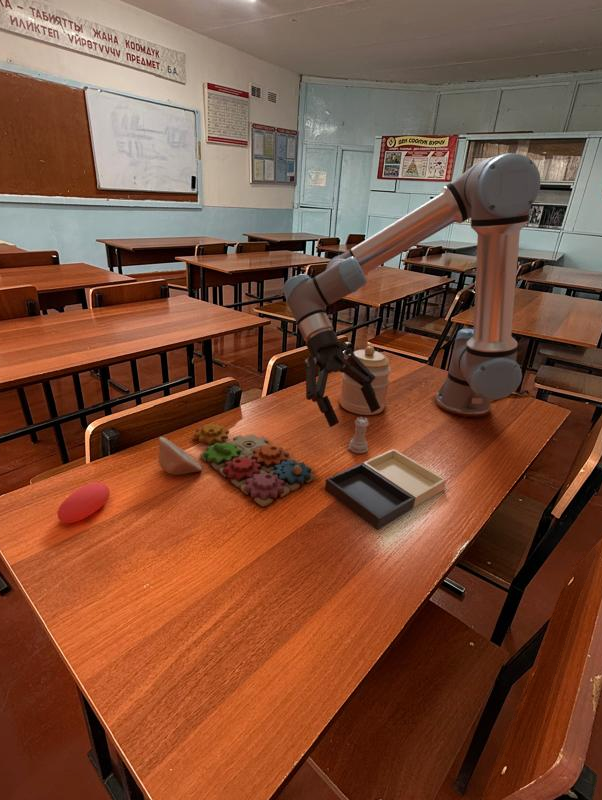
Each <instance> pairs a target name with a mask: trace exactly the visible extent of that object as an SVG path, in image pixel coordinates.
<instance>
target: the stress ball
mask: <svg viewBox="0 0 602 800" xmlns="http://www.w3.org/2000/svg"><path fill="white" fill-rule="evenodd" d="M110 495H111V494H110V488H109V487H108V485H106V484H105V483H104V482H101V481H92V482H89V483H87V484H86V483H85V485H83V486H81V487H79V488H78V489H75V491H73V492H72V493H70V494H69V495H68V496H67V497H66V498H65V499H64V500H63V501H62V503H61V504H60V506H59V507H58V509H57V513H56V514H57V518H58V520H59V521H60V522H61V523H63V524H73V523H76V522H79V521H82V520H84V519H86V518H88V517H89V516H91V515H92V514H94V513H95V512H96V511H97V510H99V509H101V508H102V507H103V506H104V505H105V504H106V503H107V501H108V500H109V497H110Z"/></svg>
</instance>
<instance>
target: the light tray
mask: <svg viewBox="0 0 602 800" xmlns="http://www.w3.org/2000/svg"><path fill="white" fill-rule="evenodd" d="M362 464H364V465H365V466H367V467H368V468H370V469H371V470H373V471H374V472H376V473H377V474H379V475H380V476H382V477H383V478H385V479H386V480H388V481H390V482H391V483H393V484H394V485H396V486H397V487H399V488H400V489H402V490H403V491H405V492H406V493H408V494H409V495H411V496H412V497H414V498H415V500H414V504H413V508H412V509H414V508H416V507H417V506H419V505H421V504H422V503H424V502H426V501H427V500H429V499H431V498H433V497H434V496H436V495H438V494H439V493H441V492H443V491H444V490H445V488H446V483H447V479H446V478H444V477H443V476H441V475H439V474H438V473H436V472H434V471H432V470H431V469H429V468H428V467H425V466H424V465H422V464H421V463H419V462H417V461H415V460H413V458H410V457H409V456H407V455H405V454H403V453H402V452H400V451H398V450H397V449H395V448H392V449H390V450H388V451H385V452H383V453H380V454H378V455H377V456H374V457H372V458H370V459H368V460H365V461H362Z"/></svg>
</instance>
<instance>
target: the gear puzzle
mask: <svg viewBox="0 0 602 800" xmlns="http://www.w3.org/2000/svg"><path fill="white" fill-rule="evenodd" d="M229 434H230V430H229V429H227V428H225V426H224V425H220V424H216V423H211V424H210V423H207V424H203V425H202V427H197V428H195V433H194V434H193V437H194V438H196V439H198V442H199V443H204V442H206V444H207V445H210V446H206V448H205V451H203V452H201V453H200V459H202V461H203V462H206V463H211V464H210V466H211V468H213V469H214V470H216V471H217V472H219V474H220V475H221V476H223V477H224V478H227V479H231V484H233V485H234V486H235V487H236V488H238V489H240V491H241V492H242V493H243V494H245V495H246V496H249V495H250V497H251V498H253V500H254V502H255V503H256V504H257V505H259V506H260V507H262V508H263V507H266V506H268V505H270V504H272V503H273V502H274V499H273V498H275V499H276V498H277V497H278V496H279V497H280V498H283V497H285V496H287V495H289V494H290V492H294V491H296V490H298V489H300V486H301V484H302V485H303V484H305V483H307V484H309V483H311V482H312V481H314V480H315V479H316V475H315V474H314V473H312V470H313V468H312V467H310V466H309V465H307V464H306V463H305V462H303V461H302V462H297V461H296V460H295V459H291V458H290V453H289V452H288V451H286V450H284V448H283V447H280V446H275V445H274V444H268V443H269V440H268V439H267V438H266V437H264V436H260V438H259V437H258V436H256V435H254V434H251V433H250V434H248V435H246V436H242V435H241V434H240V435H239V434H238V435H236V436H234V437H232V441H229V442H228V441H225V442H223V443H222V441H223V440H228V439H229V436H228V435H229ZM213 443H214V444H213ZM211 444H212V445H211ZM304 482H305V483H304Z"/></svg>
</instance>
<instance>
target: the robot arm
mask: <svg viewBox="0 0 602 800" xmlns="http://www.w3.org/2000/svg"><path fill="white" fill-rule="evenodd" d="M540 174H541V173H540V170H539V168H538V166H537V164H536V163H535V162H534V161H533V160H532V159H531V158H530V157H528V156H526V155H524V154H521V153H515V152H509V153H508V152H505V153H502V154H498V155H495V156H492V157H488V158H484V159H482V160H480V161H478V162H476V163H475V164H474V165H472V166H471V167H470V168H468V169H467V170H466V171H464V172H463V173H461V174H460V175H459V176H458V177H456V178H455V179H453V180H452V181H451V182H449V183H447V184H446V185H444V186H443V187H442V189H441V191H440V193H439V194H438V195H436V196H434V197H432V198H431V199H430V200H428V201H426V202H425V203H423V204H421V205H420V206H418V207H417V208H415V209H413V210H411V211H410V212H408V213H407V214H405V215H403V216H402V217H400V218H399V219H397V220H395V221H394V222H392V223H390V224H388V225H387V226H385V227H384V228H382V229H381V230H379V231H377V232H376V233H374V234H372V235H371V236H369V237H367V238H365V239H364V240H362V241H361V242H359V243H358V244H356V245H354V246H353V247H351V248H350V249H348V250H346V251H345V252H343V253H342V254H340V255H339V254H338V255H335V256H334V257H333V258H330V260H329V261H328V263H327V264H326V266H325V270H324V271H323V272H321V273H319V274H318V275H316V276H314V277H311V276H309V274H307V273H299V274H298V275H294V276H292V277H290V278H289V279H287V280H286V281H285V282H284V284H283V286H282V292H283V295H284V297H285V300H286V304H287V306H288V308H289V309H290V312H291V314H292V316H293V318H294V320H295V323H296V325H297V327H298V330H299V333H300V334H301V336H302V339H303V341H304V342H305V343H306V344H305V345H306V348H307V350H308V352H309V354H310V355H309V356H308V357H307V358H306V359H305V360H304V361H303V365H304V369H305V398H306V400H307V401H310V400H311V401H312V403H316V404H317V407H318V409H319V411H320V412H321V414H324V417H325V419H326V422H327V424H328V426H329V428H332V427H334V426H336V425H338V424H339V423H340V421H339V419H338V416H337V415H336V412H335V410H334V407H333V405H332V403H331V400H330V399H329V396H328V395H325V392H326V386H327V382H328V377H329V375H330V374H332V373H338V372H339V373H342V374H343V373H345V374H346V375H347V376H349V377H350V378H352V379H353V380H354V381H356V382H357V383H359V384H360V385H361V386H363V387H362V388H360V389H361V391H362V393H363V395H364V397H365V400H366V402H367V404H368V406H369V408H370V410H371V413H372V412H374V411H376V410H378V409H380V405H379V403H378V401H377V399H376V397H375V396H376V394H375V391H374V389H373V387H372V385H371V382H373V380H374V379H375V376H374V375H373V374H372V373H371V372H370V371H369V370H368V369H367V368H366V366H365V365H364V364H363V363H362V362H361V361H360V360H359V359H358V358H357V357H356V356H355V354H354V353H353V352H354V351H353V349H352V348H350V347H348V348H347V349H346V350H344V351H343V350H342V349H341V348H340V347H341V345H340V344H341V342H340V340H339V337H338V335H337V334H336V331H335V330H334V326H333V324H332V323H331V320H330V319H329V316H328V314H327V311H326V309H325V308H326V307H329V306H330V305H332V304H334V303H335V302H337V301H340V300H341V299H343V298H345V297H347V296H349V295H350V294H353V293H356V292H357V291H358V290H359V289H361V288H363V287H364V286H366V284H367V283H368V279H367V277H366V274H368V273H370V272H372V271H373V270H375V269H376V268H378V267H380V266H382V265H384V264H385V263H387V262H389V261H391V260H393V259H394V258H395V257H397V256H399V255H400V254H403V253H404V252H406V251H407V250H409V249H411V248H413V247H414V246H416V245H418V244H419V243H422V242H423V241H424V240H427V239H428V238H430V237H432V236H433V235H435V234H436V233H438V232H441V231H442V230H443V229H445V228H447V227H449V226H451V225H452V224H454V223H456V224H462V223H464V222H465V221H468V220H469V219H470V228H471V229H472V230H473V231H474V232H475V233H476V234H477V239H476V240H477V242H476V243H477V244H476V263H475V264H476V266H475V287H474V288H475V289H474V309H473V310H474V311H473V328H461V329H460V330H458V331H457V334H456V336H455V338H454V345H453V349H452V354H451V358H450V363H449V366H448V371H447V375H446V379H445V380H444V382H443V383H442V385H441V386H440V388H439V390H438V391H437V393H436V395H435V400H434V401H435V404H436V405H437V407H439V408H440V409H441V410H442V411H445V412H447V413H449V414H452V415H455V416H458V417H462V418H463V417H464V418H483V417H486V416H487V415H489V411H490V409H491V401H495V400H497V401H498V400H502V399H504V398H507V397H509V396H510V397H518V396H519V395H518V394H521V395H523V394H525V393H526V394H527V395H530V391H528V390H527V389H523V390H522V391H520V392H517V393H518V394H514V393H515V391H516V390H517V389H518V388H519V386H520V384H521V382H522V380H523V379H522V378H523V373H522V369H521V366H520V364H519V363H518V362H517V356H518V344H519V343H518V341H517V340H516V339H515V338H514V337H513V336H512V335H513V333H512V332H513V321H514V320H513V319H514V310H515V309H514V308H515V297H516V296H515V294H516V286H517V285H516V283H517V273H518V272H517V271H518V261H519V247H520V235H521V230H522V229H523V228H524V227H525V226H527V224H528V223H529V221H530V210H531V206H532V205H533V204H534V203H535V201H536V199H537V198H538V196H539V193H540V190H541V184H542V183H541V175H540ZM317 367H318V372H317ZM324 395H325V396H324Z"/></svg>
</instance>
